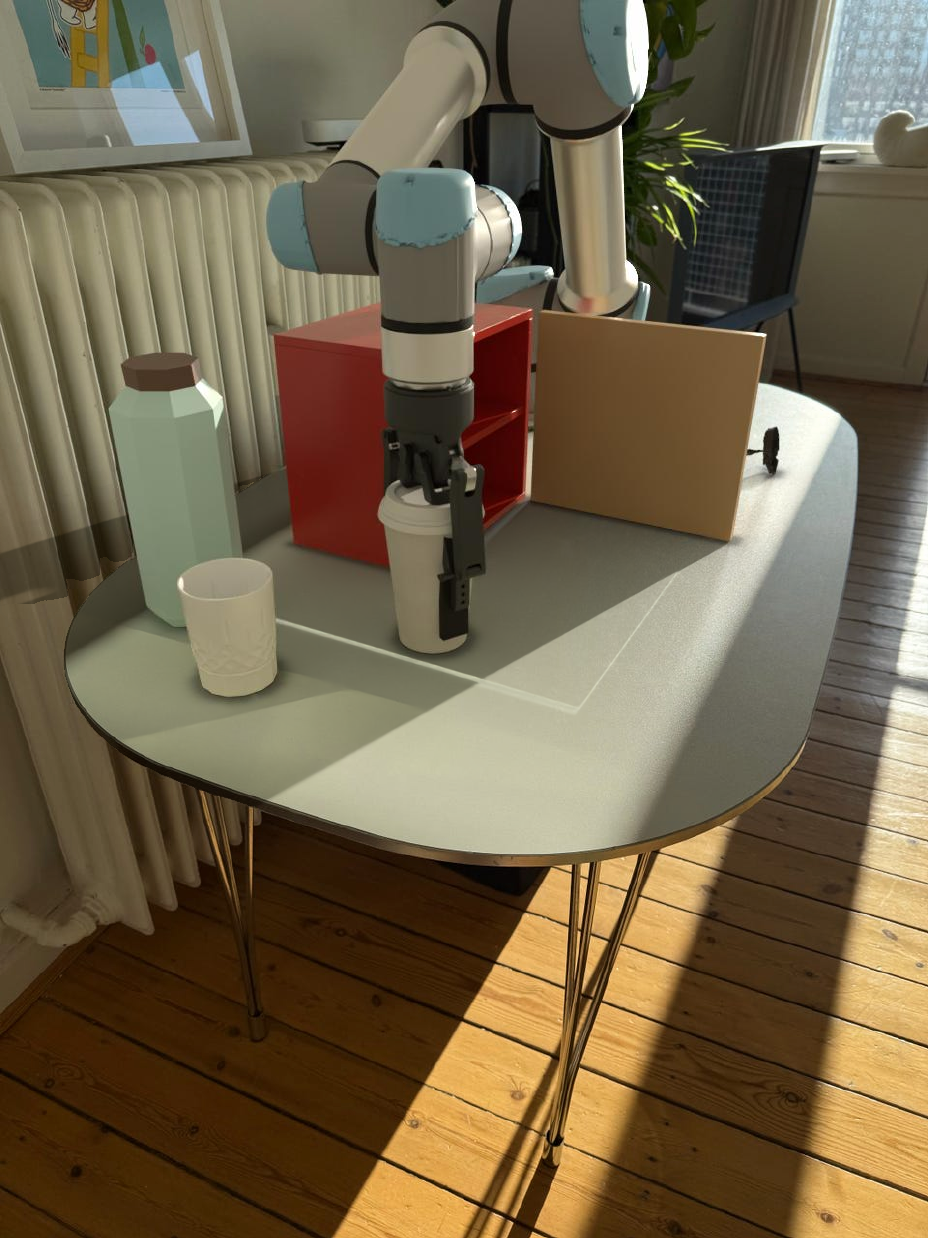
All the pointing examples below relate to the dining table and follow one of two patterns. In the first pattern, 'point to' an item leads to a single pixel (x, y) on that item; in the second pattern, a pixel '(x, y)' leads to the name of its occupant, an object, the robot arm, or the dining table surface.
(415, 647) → the coffee cup
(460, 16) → the robot arm
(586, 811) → the dining table surface
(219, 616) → the white cup
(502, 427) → the cabinet
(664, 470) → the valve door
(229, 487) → the water bottle
